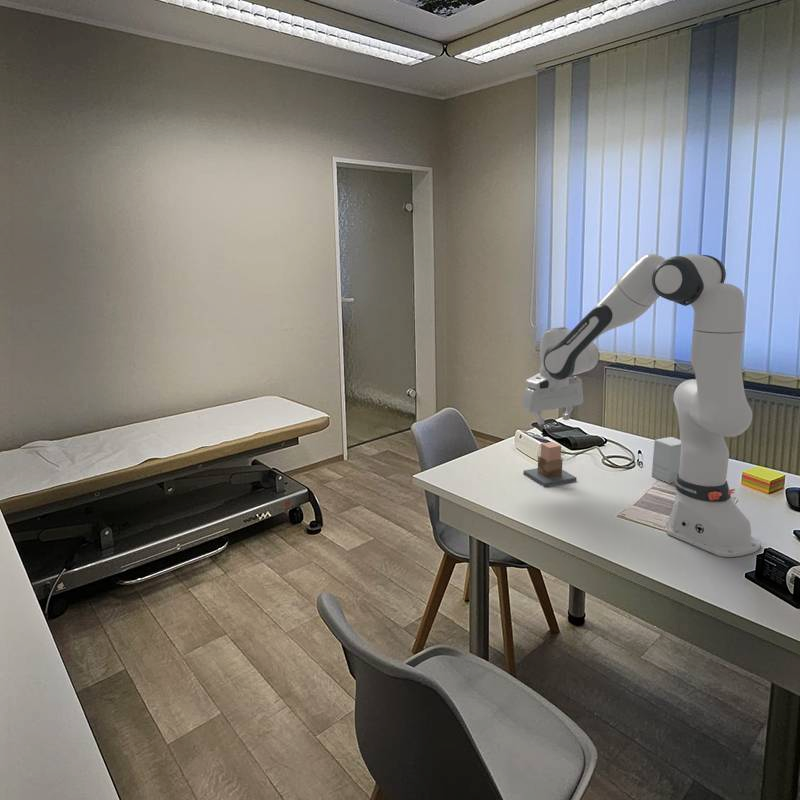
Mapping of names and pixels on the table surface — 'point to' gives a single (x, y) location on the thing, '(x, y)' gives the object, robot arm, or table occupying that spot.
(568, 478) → the board
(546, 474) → the walnut block
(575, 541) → the table surface
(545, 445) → the terracotta block
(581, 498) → the table surface
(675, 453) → the supplement box
